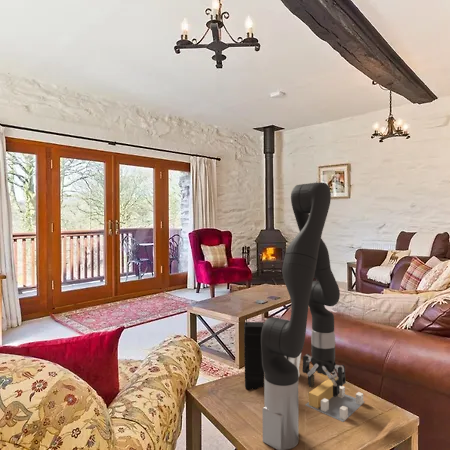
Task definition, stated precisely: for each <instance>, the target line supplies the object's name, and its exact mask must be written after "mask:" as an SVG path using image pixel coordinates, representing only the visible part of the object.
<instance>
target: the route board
mask: <svg viewBox="0 0 450 450" xmlns="http://www.w3.org/2000/svg"><path fill="white" fill-rule="evenodd" d="M364 403H365V401H364V393H363V392H360V391H357V392H356V393H355V396H351V395H348V394H346V387H345V386H344V385H343V386H340V393H339V394H338V395H337V396H336V397H334V396H333V397H332V398H331V399H329V400H328V399H325V398H323V399H322V400H321V407H319V408H318V409H317V408H315V407H313V406H310V405H309V401H308V402H307V403H305V404H304V406H306V407H308V408H310V409H313V410H315V411H317V412H319V413H322V414H324V415H326V416H328V417H330V418H333V419H335V420H337V421H340V422H342V423H344V422H345V421H346V420H348V419H349V418H350V417H351V416H352V415H353V414H354V413H355V412H356V411H357V410H358V409H359V408H360V407H361V406H362V405H363V404H364Z"/></svg>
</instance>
